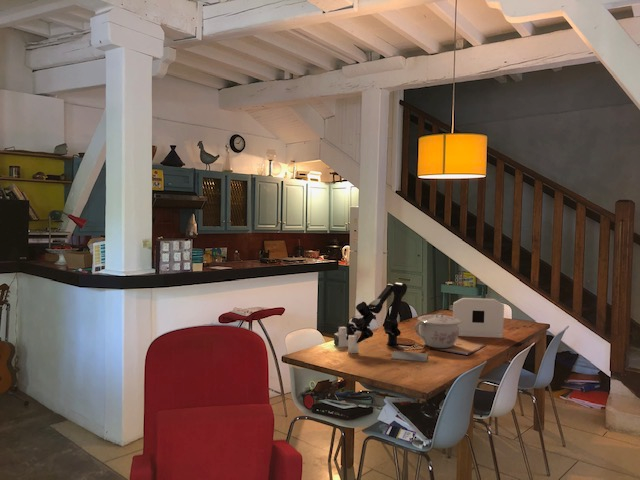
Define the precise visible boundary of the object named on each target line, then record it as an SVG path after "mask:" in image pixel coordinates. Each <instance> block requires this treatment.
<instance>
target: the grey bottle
mask: <svg viewBox="0 0 640 480" xmlns="http://www.w3.org/2000/svg"><path fill="white" fill-rule="evenodd" d="M347 334H348V328H347V327H346V325H345V326H344V325H338V326H337V327H336V333H334V335H333V341H334V342H333V345H334V344H335V345H336V346H335V345H334V346H335V347H337V346H338V347H337V348H344V347H345V348H348V340H346V338H347Z"/></svg>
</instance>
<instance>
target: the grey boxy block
mask: <svg viewBox="0 0 640 480" xmlns="http://www.w3.org/2000/svg"><path fill="white" fill-rule="evenodd" d="M504 315H505V305H504V303H502V302H500V301H499V300H497V299H496V298H482V297H481V298H480V297H479V298H477V297H462V298H460V299H457V300H456V301H454V302H453V306H452V317H455V318H458V319H460V320H461V321H462V322H461V323H460V324H458V327H459V335H458V337H472V338H473V337H479V338H480V337H481V338H501V339H502V338H504V337H503V333H504V320H505V319H504V318H505V317H504Z"/></svg>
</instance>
